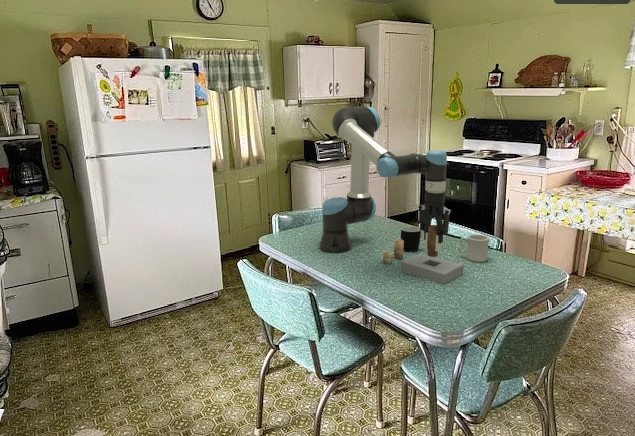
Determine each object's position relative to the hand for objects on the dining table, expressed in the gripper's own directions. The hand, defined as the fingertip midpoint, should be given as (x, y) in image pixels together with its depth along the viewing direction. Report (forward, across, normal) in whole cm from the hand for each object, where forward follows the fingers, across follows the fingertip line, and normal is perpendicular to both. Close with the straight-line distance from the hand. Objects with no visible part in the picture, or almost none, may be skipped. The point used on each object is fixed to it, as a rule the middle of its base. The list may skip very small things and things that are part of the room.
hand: (432, 249), depth 182 cm
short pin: (+10, -20, -3) cm, 23 cm away
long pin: (+3, 0, 0) cm, 3 cm away
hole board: (+10, 0, 0) cm, 10 cm away
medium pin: (+10, -20, +5) cm, 23 cm away
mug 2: (+10, +4, +26) cm, 28 cm away
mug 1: (+10, -24, +18) cm, 32 cm away
